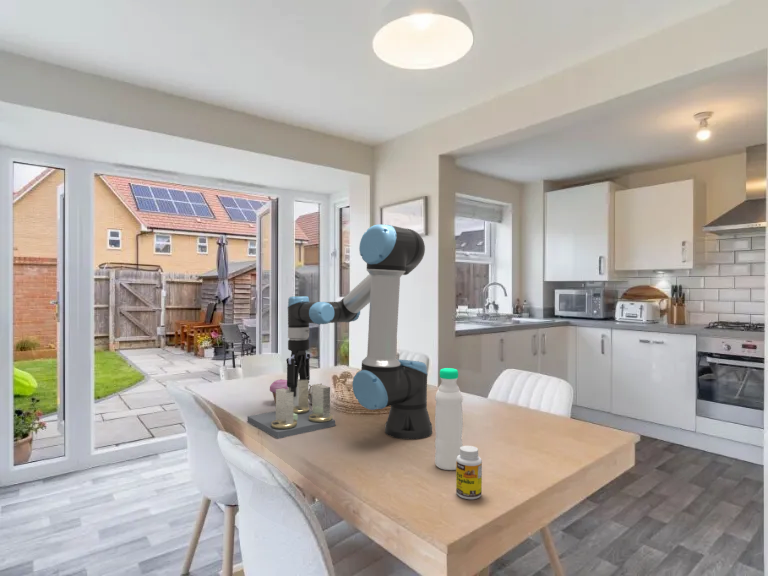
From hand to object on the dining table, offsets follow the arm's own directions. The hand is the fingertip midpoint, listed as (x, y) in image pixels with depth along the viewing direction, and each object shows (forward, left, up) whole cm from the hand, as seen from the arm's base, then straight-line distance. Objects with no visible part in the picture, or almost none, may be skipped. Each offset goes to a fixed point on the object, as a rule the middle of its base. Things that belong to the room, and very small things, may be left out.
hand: (298, 403), depth 159 cm
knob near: (-13, +12, -3) cm, 18 cm away
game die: (+12, -15, -5) cm, 20 cm away
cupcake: (+21, -4, -5) cm, 22 cm away
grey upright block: (-14, -1, -3) cm, 14 cm away
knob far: (0, 0, -3) cm, 3 cm away
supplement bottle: (-79, +1, -5) cm, 79 cm away
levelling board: (-6, +6, -5) cm, 10 cm away
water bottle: (-65, -8, -5) cm, 66 cm away
